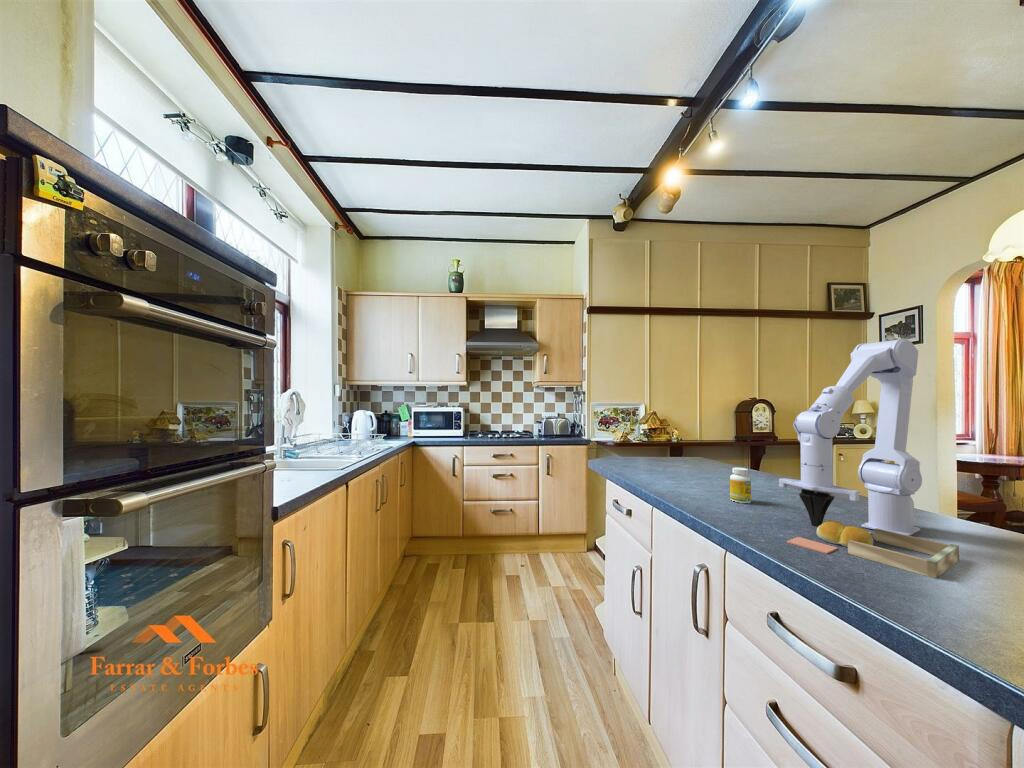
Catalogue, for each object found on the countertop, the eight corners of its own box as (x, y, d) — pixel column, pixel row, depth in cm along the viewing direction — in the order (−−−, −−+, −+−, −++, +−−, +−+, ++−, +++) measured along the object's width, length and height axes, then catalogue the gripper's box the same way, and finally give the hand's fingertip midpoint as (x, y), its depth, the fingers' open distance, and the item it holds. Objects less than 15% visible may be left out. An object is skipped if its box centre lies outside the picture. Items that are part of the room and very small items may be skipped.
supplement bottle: (733, 498, 119) (733, 466, 119) (753, 501, 115) (753, 468, 116) (727, 501, 115) (727, 468, 116) (747, 505, 112) (747, 471, 112)
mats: (833, 524, 95) (833, 523, 95) (871, 533, 89) (871, 532, 89) (786, 542, 83) (786, 541, 83) (826, 554, 77) (826, 552, 77)
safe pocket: (876, 539, 85) (876, 527, 85) (959, 560, 75) (958, 545, 75) (847, 553, 77) (847, 539, 77) (935, 578, 67) (935, 562, 67)
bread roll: (867, 553, 78) (867, 533, 78) (812, 539, 85) (812, 521, 85) (878, 544, 82) (878, 525, 83) (826, 532, 90) (825, 514, 90)
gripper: (772, 461, 93) (772, 519, 92) (849, 471, 80) (850, 539, 80) (787, 459, 96) (787, 515, 96) (863, 468, 84) (863, 533, 84)
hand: (816, 525), depth 88 cm, fingers closed
